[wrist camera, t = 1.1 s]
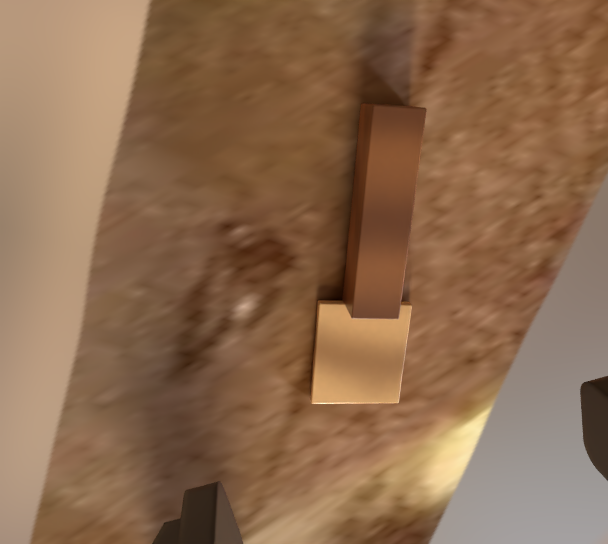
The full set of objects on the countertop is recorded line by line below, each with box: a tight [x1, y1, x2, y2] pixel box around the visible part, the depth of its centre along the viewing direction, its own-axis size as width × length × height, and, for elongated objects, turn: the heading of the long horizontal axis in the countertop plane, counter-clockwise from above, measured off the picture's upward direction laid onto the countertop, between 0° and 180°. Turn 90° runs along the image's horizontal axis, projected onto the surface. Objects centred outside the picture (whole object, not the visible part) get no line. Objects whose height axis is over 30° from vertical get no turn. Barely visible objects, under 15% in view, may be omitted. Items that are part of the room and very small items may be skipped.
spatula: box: [310, 103, 426, 404], centre depth 27 cm, size 16×5×2 cm, turn 176°
